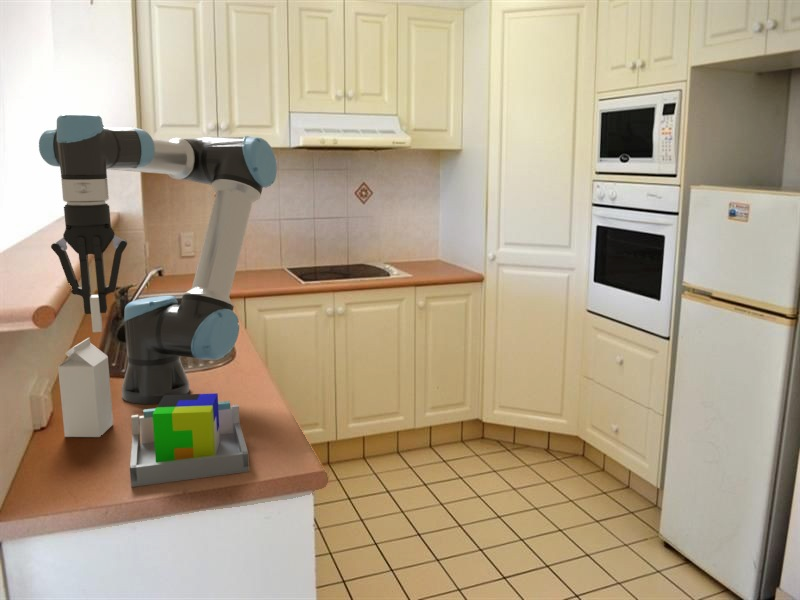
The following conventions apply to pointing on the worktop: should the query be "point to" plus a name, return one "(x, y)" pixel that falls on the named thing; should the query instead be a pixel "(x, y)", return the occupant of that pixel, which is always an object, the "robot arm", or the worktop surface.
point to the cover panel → (224, 422)
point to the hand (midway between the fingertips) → (97, 330)
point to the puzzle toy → (186, 427)
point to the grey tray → (225, 461)
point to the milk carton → (85, 391)
